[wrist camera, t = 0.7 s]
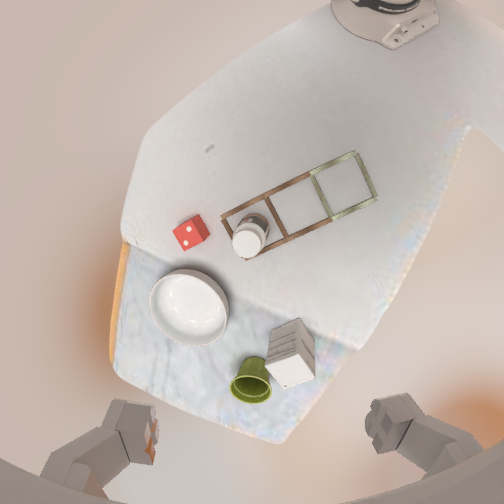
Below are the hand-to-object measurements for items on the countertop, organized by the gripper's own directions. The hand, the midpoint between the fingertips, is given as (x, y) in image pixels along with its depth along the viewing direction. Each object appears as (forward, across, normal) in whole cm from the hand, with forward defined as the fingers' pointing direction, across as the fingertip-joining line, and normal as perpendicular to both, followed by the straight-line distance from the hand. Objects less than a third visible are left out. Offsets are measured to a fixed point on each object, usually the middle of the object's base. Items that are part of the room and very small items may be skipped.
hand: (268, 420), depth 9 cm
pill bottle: (+48, -4, +1) cm, 49 cm away
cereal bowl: (+53, +8, +17) cm, 56 cm away
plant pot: (+52, -6, +34) cm, 63 cm away
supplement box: (+49, -14, +24) cm, 56 cm away
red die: (+51, +8, +2) cm, 52 cm away
